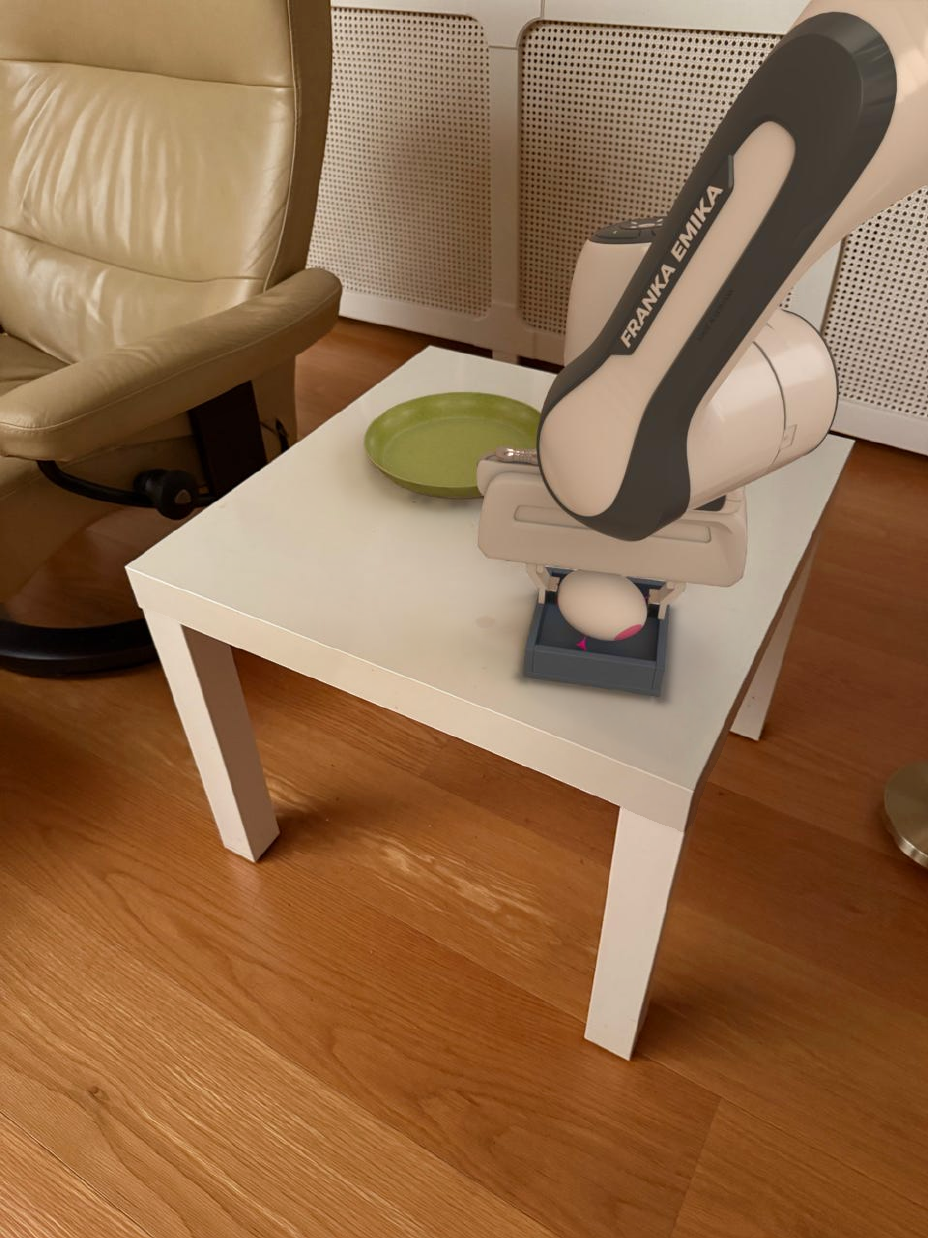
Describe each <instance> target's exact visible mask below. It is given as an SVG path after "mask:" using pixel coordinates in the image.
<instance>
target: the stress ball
mask: <svg viewBox="0 0 928 1238" xmlns="http://www.w3.org/2000/svg"><path fill="white" fill-rule="evenodd" d="M574 570H575V571H573V572H571V573H570V574H568V575H567V576H566V577H565V578H564V579H563V580H562V582H561V583H560V585H559V588H558V593H557V602H558V606H559V609H560V611H561V613H562V615H563V616H564V618H565V619H566V620H567V621H568V623H569V624H570V625H572V626H573V627H574V628H575V629H576V630H578V631H579V632H581V633H583V634H585V635H587V636H589V637H592V638H595V639H598V640H604V641H619V640H624V639H627V638H629V637H631V636H633V635H635V634H636V633H637V632H638V631H639V630H640V629H641V628H642V627H643V625H644V623H645V621H646V617H647V606H646V602H645V599H646V598H647V597H646V598H644V597H643V595H642V593H641V592H640V590H639V589H638V588H637V587H636V586H635V585H634V584H633V583H632V582H631V581H630V580H629V579H627V578H626V577H627V576H626V577H624V576H625V575H621V574H612V573H604V572H596V571H588V570H580V569H574ZM648 597H649V596H648ZM585 637H586V636H585ZM577 646H579V647H581V648H583V649H585V650H586V647H585V638H584V639H583V640H582V641H581V642H580V643H579V644H577Z"/></svg>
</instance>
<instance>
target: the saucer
mask: <svg viewBox="0 0 928 1238" xmlns="http://www.w3.org/2000/svg"><path fill="white" fill-rule="evenodd" d="M540 415H541V411H540V410H538V409H537V408H535V407H533V406H531V405H530V404H528V403H526V402H523V401H521V400H519V399H515V398H512V397H509V396H505V395H501V394H495V393H489V392H480V391H479V392H477V391H449V392H441V393H434V394H428V395H424V396H419V397H415V398H412V399H411V398H410V399H409V400H406V401H403V402H401V403H398V404H396V405H394V406H391V407H390V408H389V409H386V410H385V411H384V412H382V413H381V414H379V415H378V416H377V417H376V418H375V419H373V421H371V423H370V424H369V425H368V426H367V428H366V431H365V433H364V435H363V448H364V452H365V454H366V455H367V457H368V459H369V460H370V461H371V463H372V464H373V465H374V466H375V467H376V468H377V469H378V470H379V471H380V472H381V473H382V474H383V475H384V476H386V477H387V478H388V479H389V480H391V481H393V482H394V483H396V484H398V485H399V486H401V487H403V488H405V489H407V490H409V491H412V492H415V493H417V494H421V495H425V496H428V497H429V496H430V497H435V498H441V499H471V498H472V499H473V498H478V497H479V498H480V497H484V496H483V495H482V494H481V493H480V491H479V489H478V486H477V463H478V461H479V459H480V458H481V456H483V455H484V454H485V453H487V452H490V451H494V450H496V449H497V447H499V446H511V447H515V448H518V449H528V450H529V449H536V440H537V431H538V424H539V419H540ZM492 457H496V456H492Z"/></svg>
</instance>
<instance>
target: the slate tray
mask: <svg viewBox="0 0 928 1238" xmlns="http://www.w3.org/2000/svg"><path fill="white" fill-rule="evenodd" d="M545 567H546V569H547V571H548V573H549V575H550V576H551V577H558V578H560V583H561V582H562V580H563V579H564V578H565V577H566V576H567V575H568V574H570V573H571V572H573V571H575V570H576V569H571V568H563V567H554V566H545ZM623 576H624V577H626V578H627V579H629V580H630V581H631V582H632V583H633V584H634V585H635V586H636V587H637V588H638V589H639V590H640V592H641V593H642V595H643V597H644V598H646V597H647V598H646V599H645V602H646V606H647V602H648V596H649V590H650V589H655V590H660V589H661V588H662V587H663V586H664V585H665V584H666V582H667V581H666V580H659V579H651V578H643V577H635V576H627V575H623ZM560 583H559V585H560ZM538 600H539V593H538V595H537V598H536V603H535V607H534V611H533V614H532V618H531V622H530V626H529V630H528V634H527V638H526V642H525V645H524V653H523V654H524V656H523V657H524V658H523V677H525V678H531V679H539V680H546V681H552V682H559V683H565V684H573V685H579V686H584V687H585V686H586V687H592V688H600V689H606V690H614V691H619V692H627V693H634V694H641V695H645V696H654V697H660V696H661V692H662V685H663V681H664V676H665V671H666V662H667V661H666V659H667V646H668V633H669V619H670V606H671V603H670V604H669V605H667V607H666V613H665V618H664V620H663V619H656V618H650V617H646V621H645V623H644V625H643V627H642V628H641V629H640V630H639V631H638V632H637V633H636V634H635V635H633V636H631V637H629V638H627V639H624V640H619V641H604V640H598V639H595V638H592V637H589V636H587V635H585V634H583V633H581V632H579V631H578V630H576V629H575V628H574V627H573V626H572V625H570V624H569V623H568V621H567V620H566V619H565V618H564V616H563V615H562V613H561V611H560V609H559V606H558V602H557V604H556V605H548V604H541V603H538ZM585 636H586V637H585ZM584 638H585V647H586V650H585V649H583V648H581V647H579V646H577V644H579V643H580V642H581V641H582V640H583V639H584Z"/></svg>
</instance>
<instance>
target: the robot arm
mask: <svg viewBox="0 0 928 1238" xmlns="http://www.w3.org/2000/svg"><path fill="white" fill-rule="evenodd" d="M927 185H928V0H810V1H809V2H808V3H807V5H806V6H805V7H804V8H803V10H802V11H801V13H800V14H799V15H798V17H797V18H796V20H795V21H794V22H793V23H792V25H791V26H790V28H789V29H788V30H787V31H786V33H785V34H784V35H783V37H781V38H780V40H779V41H778V42H777V43H776V44H775V45H774V47H773V48H772V49H771V51H770V52H769V53H768V55H767V56H766V57H765V59H764V60H763V61H762V63H761V64H760V65H759V67H758V68H757V69H756V71H755V72H754V73H753V74H752V76H751V78H750V79H749V80H748V81H747V83H746V84H745V86H744V87H743V88H742V90H741V91H740V93H739V94H738V95H737V97H736V99H735V100H734V101H733V102H732V104H731V106H730V107H729V109H728V110H727V112H726V114H725V115H724V116H723V118H722V120H721V122H720V123H719V125H718V126H717V128H716V130H715V131H714V133H713V135H712V136H711V138H710V140H709V142H708V143H707V145H706V146H705V148H704V150H703V151H702V153H701V155H700V156H699V158H698V160H697V161H696V163H695V165H694V167H693V169H692V171H691V172H690V174H689V175H688V177H687V179H686V180H685V182H684V185H683V186H682V188H681V190H680V191H679V193H678V195H677V197H676V199H675V200H674V202H673V204H672V205H671V208H670V209H669V211H668V213H667V214H666V215H665V216H663V215H660V216H659V215H658V216H653V217H644V218H643V217H642V218H641V217H639V218H634V219H629V220H625V221H621V222H617V223H614V224H611V225H608V226H604V227H602V228H600V229H598V230H596V231H595V232H594V233H593V234H592V235H590V236H589V237H587V239H586V240H585V242H584V244H583V246H582V247H581V250H580V252H579V255H578V258H577V261H576V264H575V268H574V272H573V276H572V279H571V286H570V292H569V298H568V304H567V305H568V306H567V314H566V322H565V332H564V333H565V334H564V348H563V349H564V350H563V363H564V364H563V365H564V367H563V368H562V369H561V370H560V371H559V372H558V373H557V375H556V376H555V377H554V379H553V381H552V383H551V385H550V387H549V390H548V391H547V394H546V396H545V399H544V402H543V405H542V408H541V411H540V412H541V415H540V419H539V424H538V431H537V440H536V449H529V450H528V449H518V448H515V447H511V446H499V447H497V449H496V450H494V451H490V452H487V453H485V454H484V455H483V456H481V458H480V459H479V461H478V463H477V486H478V489H479V491H480V493H481V494H482V495H483V496H482V497H484V498H483V501H482V505H481V510H480V516H479V523H478V529H477V530H478V531H477V547H478V549H479V550H480V551H481V552H482V554H483V555H484V556H485V557H486V558H487V559H491V560H497V561H498V560H500V561H505V562H515V563H523V564H526V566H525V571H526V573H527V575H528V577H529V578H530V579H531V581H532V583H533V584H534V585H535V587H536V588H537V589H538V594H539V600H538V603H541V604H548V605H556V604H557V593H558V588H559V583H560V578H558V577H551V576H550V575H549V573H548V571H547V569H546V567H554V568H562V569H571V570H578V569H580V570H588V571H596V572H604V573H612V574H621V575H623V576H628V577H636V578H644V579H652V580H660V581H665V582H666V584H665V585H664V586H663V587H662V588H661V589H660V590H655V589H650V590H649V597H648V602H647V617H650V618H656V619H663V620H664V618H665V613H666V607H667V605H669V604H670V605H671V603H672V602H674V601H675V600H676V599H677V598H678V597H679V596H681V595H682V594H683V593H684V592H685V589H686V584H695V585H703V586H710V587H719V588H730V587H732V586H734V585H736V584H737V583H739V581H741V580H742V579H743V577H744V574H745V569H746V564H747V555H748V537H749V536H748V509H747V508H748V506H747V497H746V492H745V490H746V489H745V488H746V486H747V485H750V484H752V483H754V482H756V481H757V480H759V479H762V478H763V477H766V476H767V475H769V474H773V473H774V472H776V471H778V470H781V469H782V468H784V467H787V466H788V465H791V464H792V463H794V462H796V461H797V460H799V459H801V458H803V457H805V456H807V455H809V454H810V453H812V452H814V451H815V450H816V449H817V448H818V447H819V446H820V445H821V444H822V443H823V442H824V441H825V439H826V438H827V437H828V434H829V433H830V431H831V429H832V427H833V424H834V422H835V418H836V415H837V412H838V408H839V400H840V379H839V371H838V367H837V363H836V360H835V356H834V354H833V351H832V349H831V348H830V346H829V344H828V342H827V341H826V339H825V338H824V336H823V334H822V333H821V332H820V331H819V330H818V329H817V328H816V327H815V325H813V324H812V323H811V322H809V320H807V319H806V318H805V317H803V316H802V315H800V314H797V313H795V312H793V311H790V310H787V309H782V308H780V306H781V304H782V303H783V301H784V300H785V299H786V297H787V296H788V294H789V293H790V292H791V290H792V289H793V288H794V287H795V285H796V284H797V282H798V281H800V279H801V278H802V277H804V275H805V274H806V273H807V271H808V270H809V269H810V268H812V266H813V265H815V264H816V262H818V260H820V259H821V258H822V257H823V256H824V255H825V254H826V253H827V252H828V251H829V250H831V249H832V248H833V247H834V246H835V245H837V244H838V243H839V242H840V241H842V240H843V239H844V238H846V236H848V235H850V234H851V233H852V232H853V231H855V230H856V229H857V228H859V227H860V226H862V225H863V224H864V223H866V222H868V221H869V220H870V219H872V218H873V217H875V216H877V215H879V214H880V213H881V212H883V211H884V210H886V209H888V208H889V207H891V206H892V205H894V204H896V203H897V202H899V201H900V200H903V199H904V198H906V197H909V195H911V194H913V193H915V192H917V191H918V190H920V189H922V188H923V187H925V186H927ZM492 456H496V457H492Z"/></svg>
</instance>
